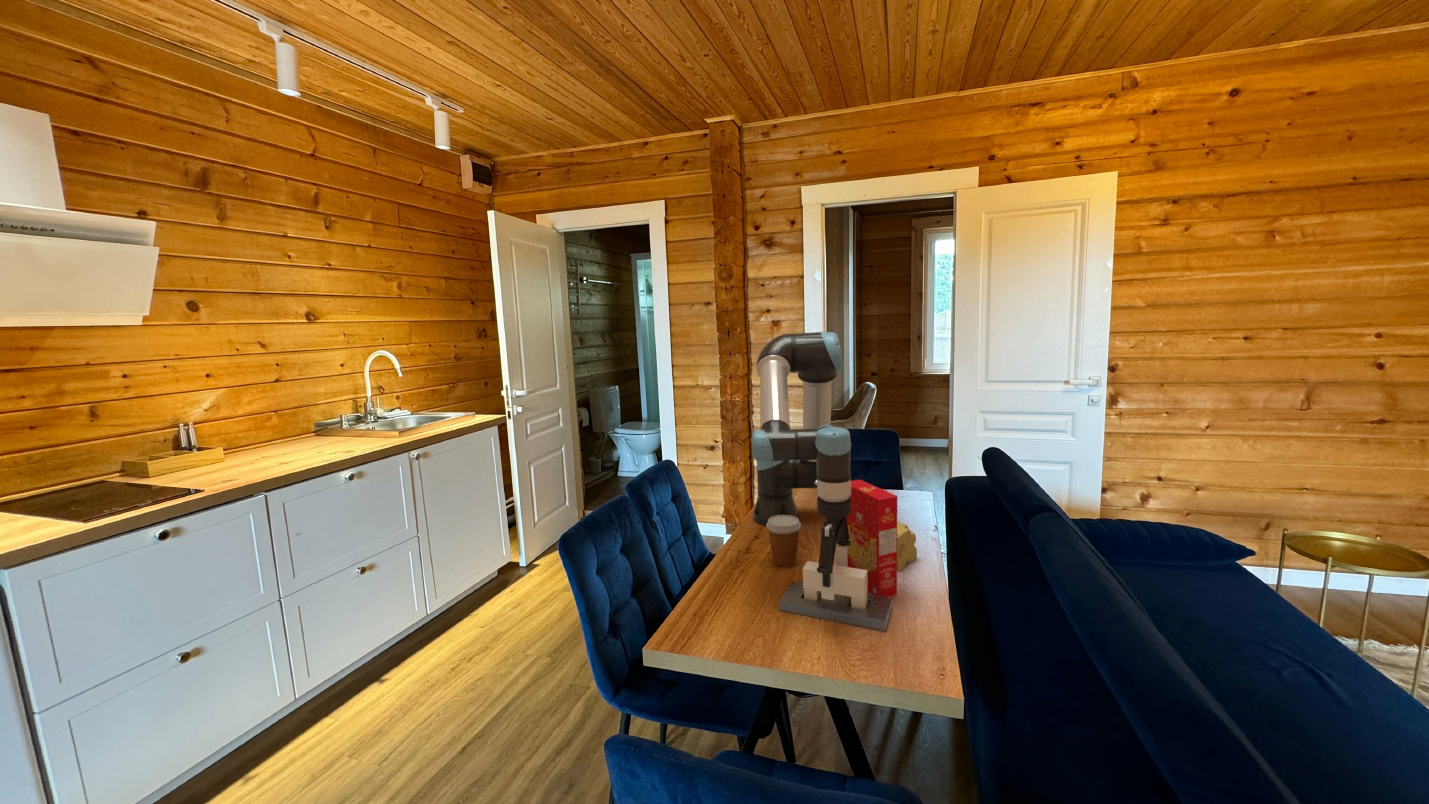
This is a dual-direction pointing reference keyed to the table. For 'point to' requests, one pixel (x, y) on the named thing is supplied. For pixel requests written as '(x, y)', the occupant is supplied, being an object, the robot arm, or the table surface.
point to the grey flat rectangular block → (838, 608)
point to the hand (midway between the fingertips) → (835, 584)
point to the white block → (837, 584)
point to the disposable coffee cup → (784, 538)
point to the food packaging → (873, 537)
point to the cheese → (905, 546)
